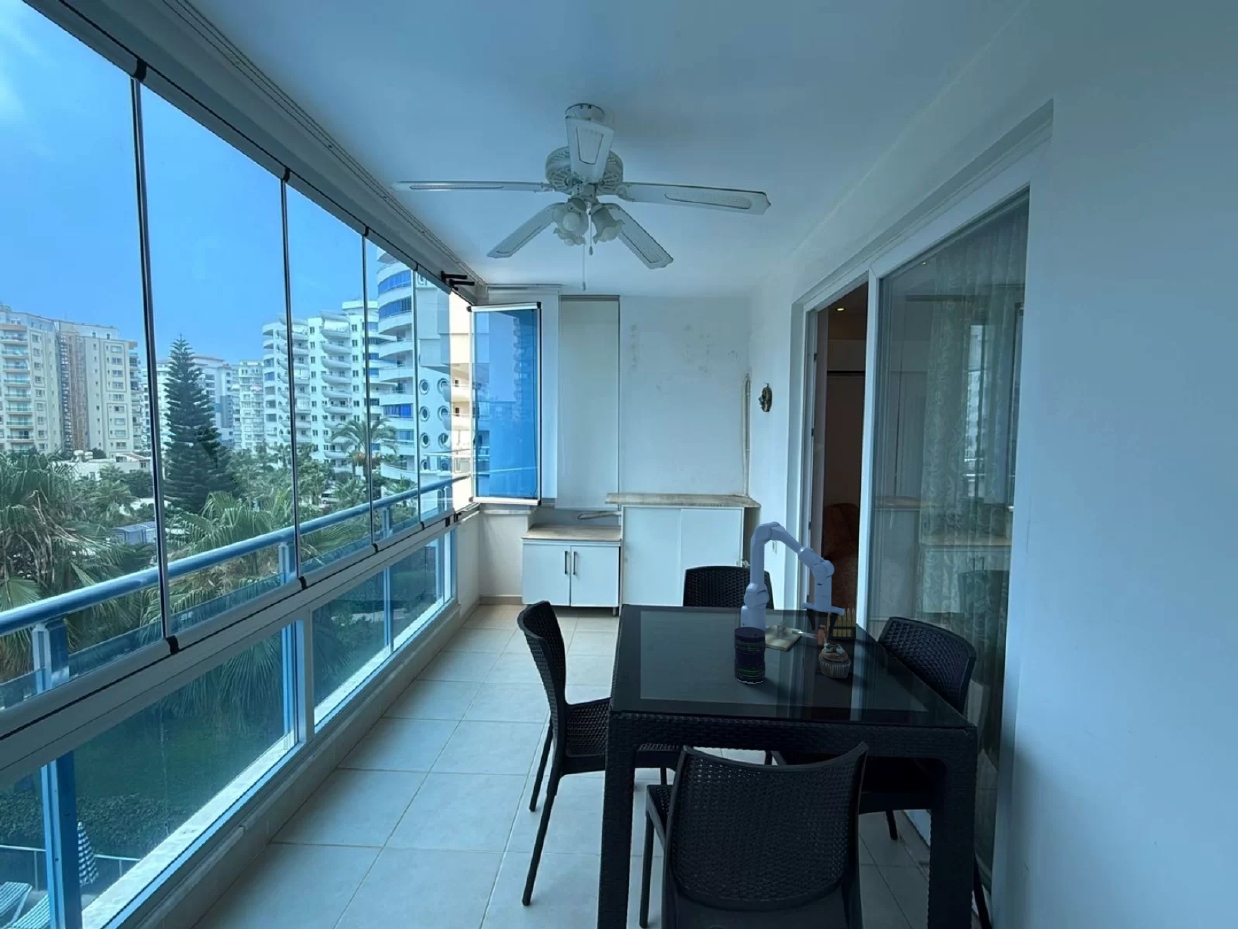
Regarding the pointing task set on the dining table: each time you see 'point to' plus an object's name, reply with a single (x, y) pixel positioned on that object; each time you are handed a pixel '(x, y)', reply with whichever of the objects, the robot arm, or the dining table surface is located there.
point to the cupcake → (834, 661)
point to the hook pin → (820, 635)
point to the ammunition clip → (843, 626)
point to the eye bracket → (780, 636)
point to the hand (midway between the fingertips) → (822, 631)
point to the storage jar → (749, 654)
